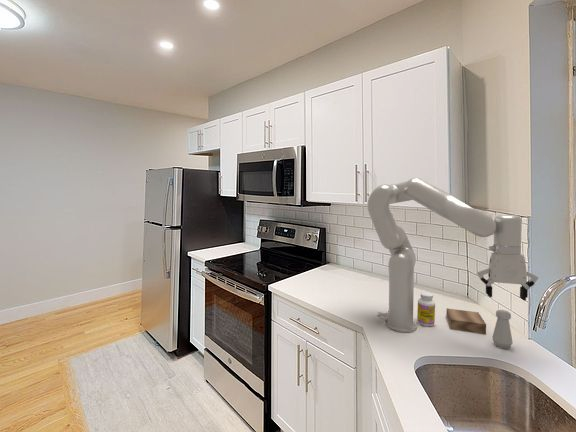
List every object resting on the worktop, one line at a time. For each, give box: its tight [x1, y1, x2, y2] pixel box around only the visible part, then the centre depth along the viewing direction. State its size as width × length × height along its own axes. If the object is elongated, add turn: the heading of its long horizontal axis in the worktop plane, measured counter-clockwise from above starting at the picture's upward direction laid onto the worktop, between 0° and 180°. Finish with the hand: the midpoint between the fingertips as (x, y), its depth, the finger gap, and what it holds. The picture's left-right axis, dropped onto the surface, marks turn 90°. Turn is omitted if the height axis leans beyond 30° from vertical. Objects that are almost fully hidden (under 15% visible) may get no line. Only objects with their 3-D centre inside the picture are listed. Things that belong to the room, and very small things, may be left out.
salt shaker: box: [491, 309, 513, 350], centre depth 99 cm, size 6×6×13 cm
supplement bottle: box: [416, 291, 436, 327], centre depth 118 cm, size 7×7×13 cm
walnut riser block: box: [445, 308, 487, 335], centre depth 116 cm, size 12×12×4 cm
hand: (505, 297), depth 98 cm, fingers open, 9 cm apart
